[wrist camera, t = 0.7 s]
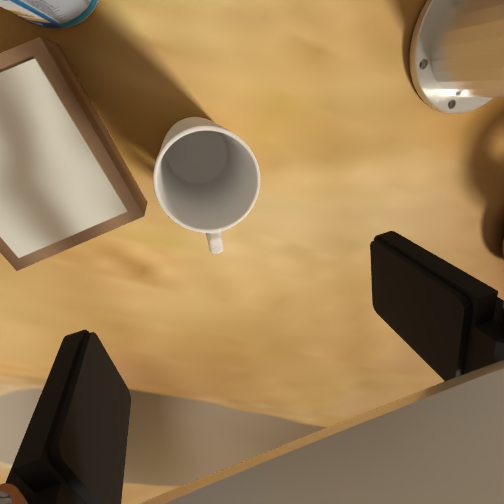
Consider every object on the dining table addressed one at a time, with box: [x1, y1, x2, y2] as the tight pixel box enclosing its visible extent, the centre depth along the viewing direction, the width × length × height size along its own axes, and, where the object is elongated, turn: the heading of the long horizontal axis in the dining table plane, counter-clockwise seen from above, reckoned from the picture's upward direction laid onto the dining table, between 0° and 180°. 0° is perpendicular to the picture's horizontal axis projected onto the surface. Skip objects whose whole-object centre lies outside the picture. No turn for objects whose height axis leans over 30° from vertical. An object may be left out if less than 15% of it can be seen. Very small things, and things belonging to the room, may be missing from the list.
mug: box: [153, 117, 260, 253], centre depth 26 cm, size 10×7×12 cm, turn 3°
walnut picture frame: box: [0, 37, 147, 271], centre depth 27 cm, size 12×14×4 cm
